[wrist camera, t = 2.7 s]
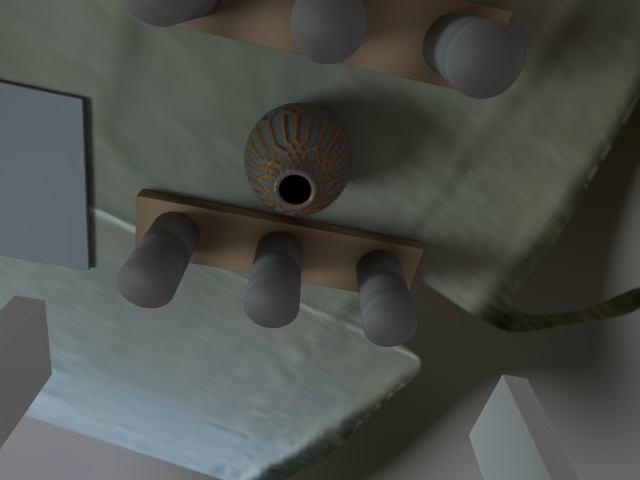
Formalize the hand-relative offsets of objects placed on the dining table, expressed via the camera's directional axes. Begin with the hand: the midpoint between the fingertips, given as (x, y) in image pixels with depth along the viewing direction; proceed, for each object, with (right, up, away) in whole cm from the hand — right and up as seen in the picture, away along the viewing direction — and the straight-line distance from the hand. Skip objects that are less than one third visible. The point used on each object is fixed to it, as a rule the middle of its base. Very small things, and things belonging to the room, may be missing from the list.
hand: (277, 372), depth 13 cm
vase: (0, +11, +20) cm, 23 cm away
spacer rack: (0, +11, +20) cm, 22 cm away
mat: (-23, +9, +21) cm, 32 cm away
